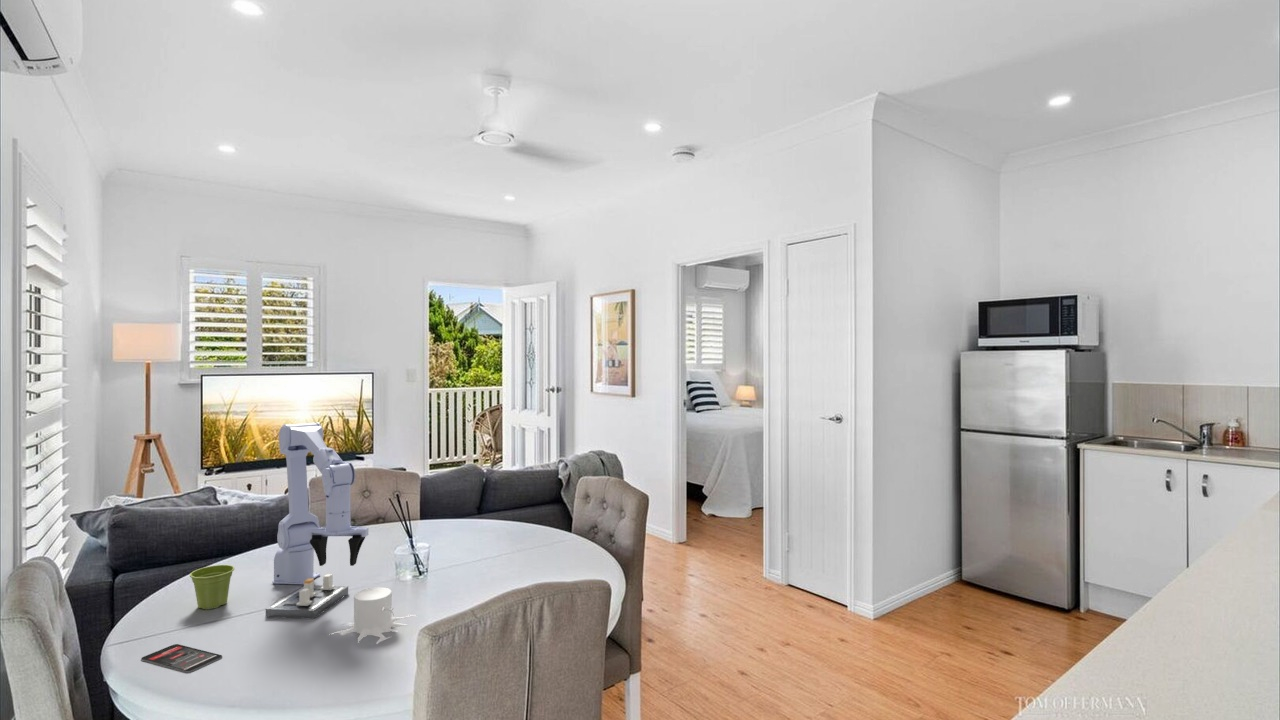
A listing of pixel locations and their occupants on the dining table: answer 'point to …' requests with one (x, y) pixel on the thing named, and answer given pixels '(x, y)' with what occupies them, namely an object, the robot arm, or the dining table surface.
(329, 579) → the breaker far
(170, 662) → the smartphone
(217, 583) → the plant pot
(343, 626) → the dining table surface
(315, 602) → the panel
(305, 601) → the block
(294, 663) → the dining table surface
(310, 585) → the breaker mid
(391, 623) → the tree stump
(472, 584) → the dining table surface
